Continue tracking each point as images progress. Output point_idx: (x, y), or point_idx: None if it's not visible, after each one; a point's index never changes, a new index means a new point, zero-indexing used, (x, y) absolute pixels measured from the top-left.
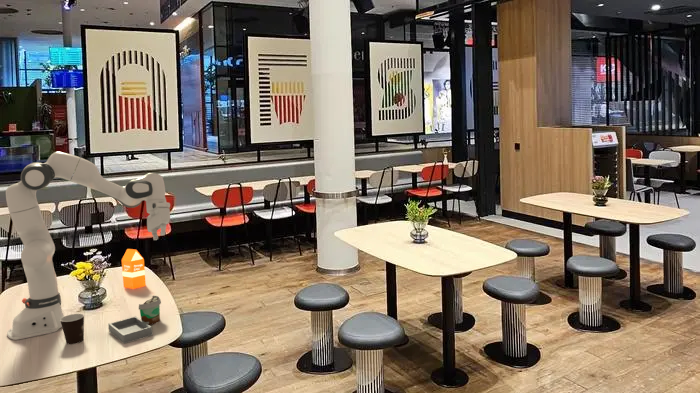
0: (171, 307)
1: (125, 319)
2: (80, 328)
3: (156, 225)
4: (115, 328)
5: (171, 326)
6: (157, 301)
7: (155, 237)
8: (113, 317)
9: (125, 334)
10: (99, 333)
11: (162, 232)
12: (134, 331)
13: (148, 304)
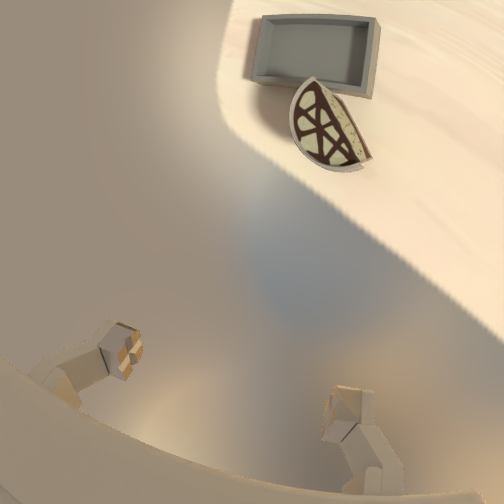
0: (396, 250)
1: (365, 60)
2: None
3: (101, 433)
4: (320, 15)
5: (270, 143)
6: (295, 138)
7: (335, 407)
8: (485, 99)
9: (262, 20)
10: (389, 9)
11: (98, 338)
12: (260, 40)
13: (293, 102)
